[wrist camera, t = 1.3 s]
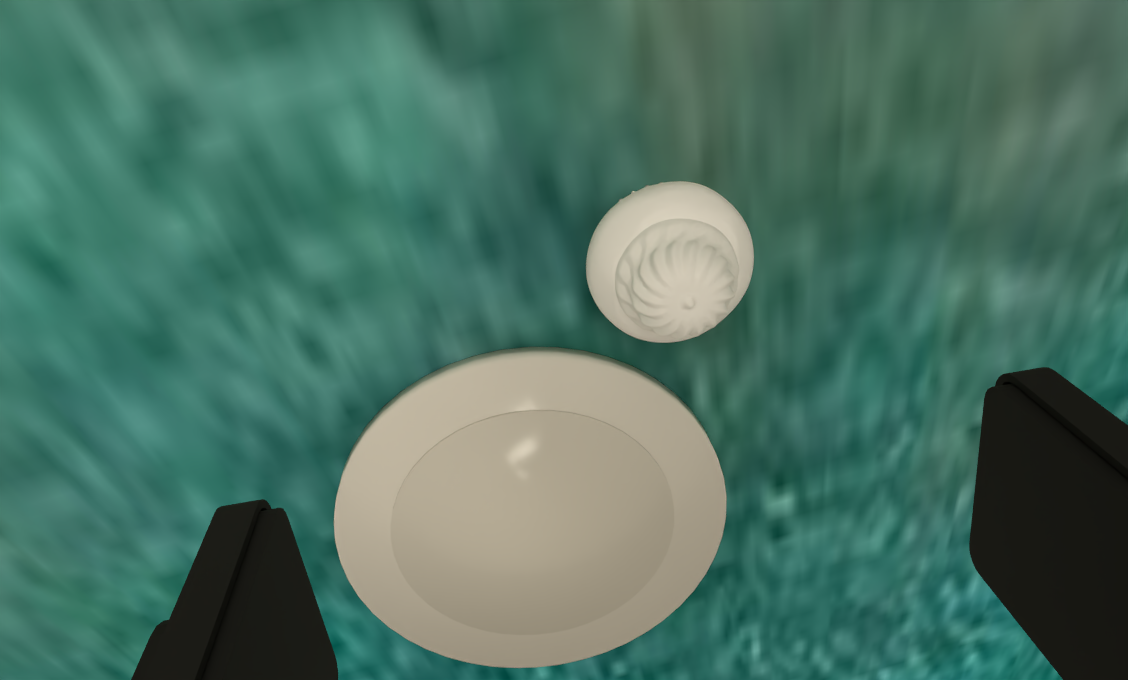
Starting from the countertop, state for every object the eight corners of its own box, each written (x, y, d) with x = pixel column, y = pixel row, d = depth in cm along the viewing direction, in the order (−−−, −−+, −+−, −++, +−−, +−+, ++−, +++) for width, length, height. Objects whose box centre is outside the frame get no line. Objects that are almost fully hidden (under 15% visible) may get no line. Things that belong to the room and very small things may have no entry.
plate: (646, 282, 35) (651, 294, 34) (765, 576, 44) (772, 593, 42) (259, 443, 37) (253, 459, 36) (445, 695, 45) (444, 715, 44)
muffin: (701, 312, 36) (748, 399, 30) (560, 287, 35) (579, 372, 29) (748, 171, 33) (810, 235, 27) (597, 140, 32) (626, 199, 26)
